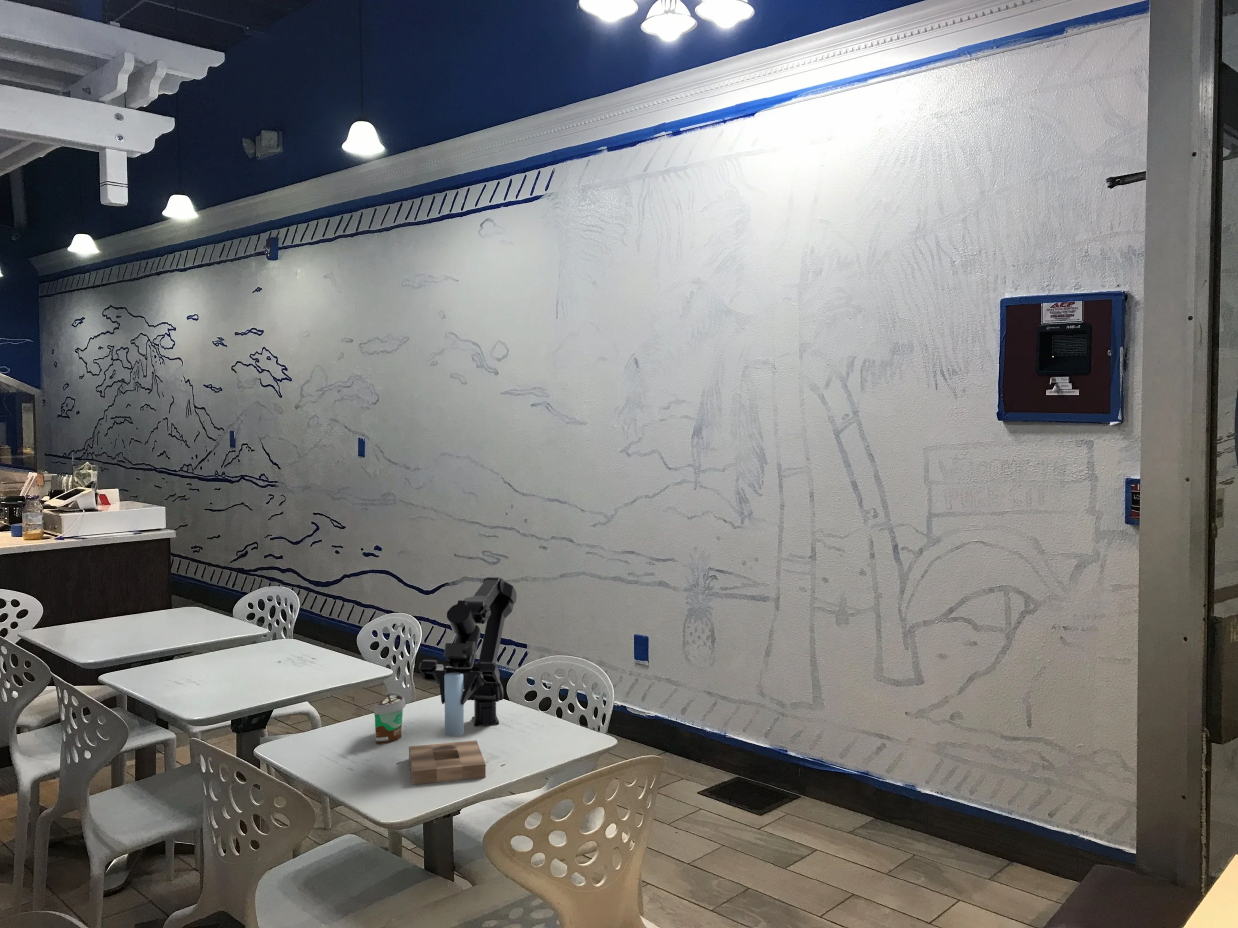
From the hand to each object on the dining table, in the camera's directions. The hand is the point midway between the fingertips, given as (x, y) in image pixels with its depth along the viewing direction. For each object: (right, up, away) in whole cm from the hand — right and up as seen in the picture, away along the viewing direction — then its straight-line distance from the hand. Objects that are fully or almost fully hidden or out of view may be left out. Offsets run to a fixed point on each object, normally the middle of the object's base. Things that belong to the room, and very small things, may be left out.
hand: (452, 703), depth 227 cm
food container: (-18, -13, +16) cm, 27 cm away
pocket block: (-1, -14, -4) cm, 14 cm away
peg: (0, -7, +2) cm, 8 cm away
